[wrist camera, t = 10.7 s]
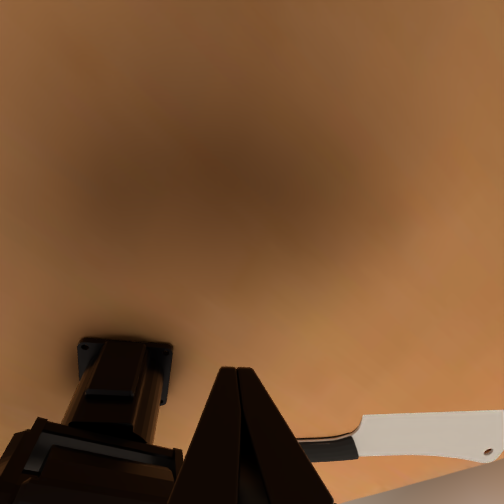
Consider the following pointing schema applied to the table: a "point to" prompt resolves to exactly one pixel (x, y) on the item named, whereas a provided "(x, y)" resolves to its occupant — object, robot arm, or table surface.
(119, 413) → the robot arm
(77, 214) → the table surface
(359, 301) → the table surface
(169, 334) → the table surface
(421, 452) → the kitchen cleaver
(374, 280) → the table surface
